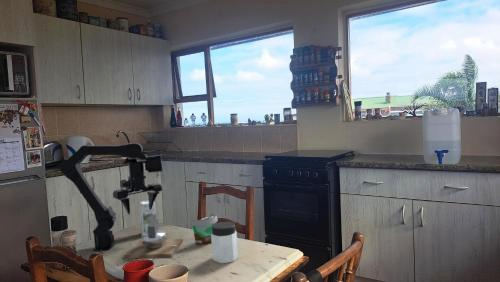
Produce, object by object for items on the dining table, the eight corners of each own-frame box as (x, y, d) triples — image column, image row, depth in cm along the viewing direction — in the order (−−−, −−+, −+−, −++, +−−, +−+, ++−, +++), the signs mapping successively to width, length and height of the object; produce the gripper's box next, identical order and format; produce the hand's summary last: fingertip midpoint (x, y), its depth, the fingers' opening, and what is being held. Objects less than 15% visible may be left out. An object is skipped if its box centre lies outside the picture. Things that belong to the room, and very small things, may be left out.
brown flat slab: (123, 258, 134) (122, 249, 133) (139, 243, 150) (139, 235, 149) (171, 256, 132) (171, 248, 132) (183, 241, 148) (182, 234, 148)
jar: (214, 265, 123) (212, 230, 122) (211, 256, 131) (209, 223, 130) (240, 261, 125) (238, 226, 124) (235, 252, 133) (233, 220, 132)
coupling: (164, 243, 136) (163, 225, 136) (139, 246, 135) (138, 227, 135) (167, 235, 147) (166, 217, 146) (144, 237, 146) (143, 219, 145)
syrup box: (155, 230, 165) (152, 199, 164) (157, 234, 160) (155, 201, 159) (142, 233, 163) (139, 201, 162) (144, 236, 158) (141, 203, 157)
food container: (204, 248, 140) (202, 222, 139) (192, 245, 143) (191, 220, 143) (225, 238, 149) (223, 214, 149) (214, 236, 153) (212, 212, 153)
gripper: (149, 169, 160) (152, 204, 161) (106, 175, 148) (109, 213, 149) (161, 171, 151) (164, 208, 152) (116, 177, 139) (120, 218, 140)
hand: (139, 211), depth 149 cm, fingers open, 9 cm apart
